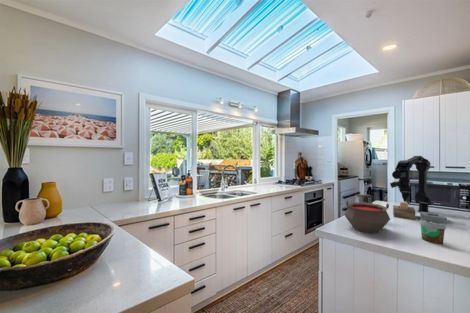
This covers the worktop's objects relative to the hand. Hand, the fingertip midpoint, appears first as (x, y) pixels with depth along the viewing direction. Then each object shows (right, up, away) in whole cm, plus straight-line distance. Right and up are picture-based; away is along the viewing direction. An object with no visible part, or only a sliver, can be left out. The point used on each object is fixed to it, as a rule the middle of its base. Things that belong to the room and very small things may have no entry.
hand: (404, 199), depth 162 cm
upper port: (0, -12, 0) cm, 12 cm away
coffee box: (-32, -12, -4) cm, 34 cm away
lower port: (+13, -12, -8) cm, 20 cm away
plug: (0, -9, 0) cm, 9 cm away
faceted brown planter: (-43, -12, -27) cm, 52 cm away
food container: (-21, -13, -45) cm, 51 cm away
